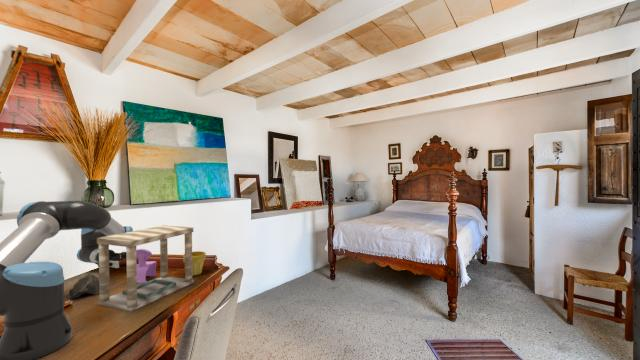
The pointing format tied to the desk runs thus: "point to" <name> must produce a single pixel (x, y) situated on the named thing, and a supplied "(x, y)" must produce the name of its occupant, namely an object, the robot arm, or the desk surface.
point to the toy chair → (145, 265)
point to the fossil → (85, 286)
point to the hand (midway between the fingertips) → (132, 260)
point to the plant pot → (197, 261)
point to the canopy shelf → (148, 290)
